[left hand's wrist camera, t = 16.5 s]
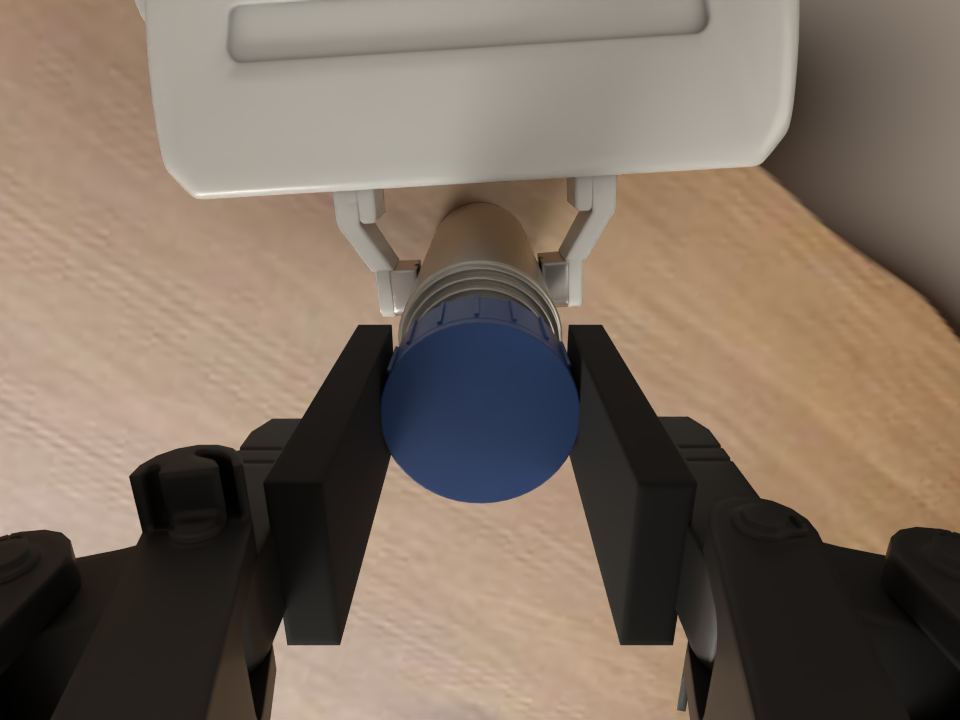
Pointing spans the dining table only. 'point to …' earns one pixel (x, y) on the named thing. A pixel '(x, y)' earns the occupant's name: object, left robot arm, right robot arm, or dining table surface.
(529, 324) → the cap
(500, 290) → the bottle
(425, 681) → the dining table surface
